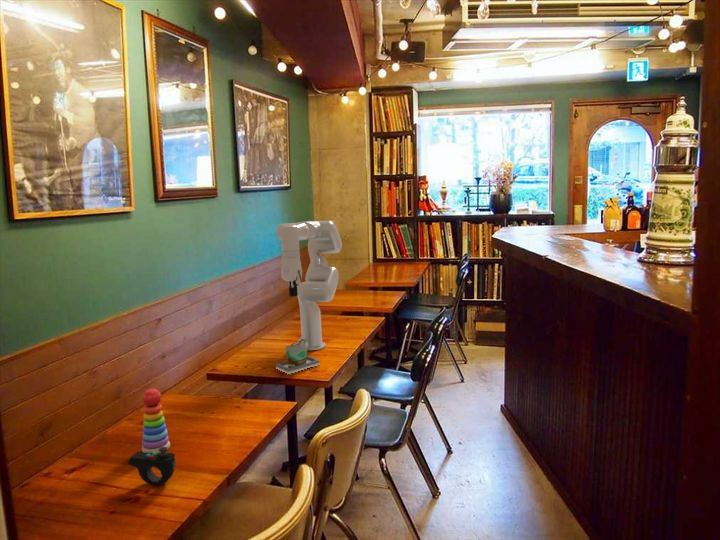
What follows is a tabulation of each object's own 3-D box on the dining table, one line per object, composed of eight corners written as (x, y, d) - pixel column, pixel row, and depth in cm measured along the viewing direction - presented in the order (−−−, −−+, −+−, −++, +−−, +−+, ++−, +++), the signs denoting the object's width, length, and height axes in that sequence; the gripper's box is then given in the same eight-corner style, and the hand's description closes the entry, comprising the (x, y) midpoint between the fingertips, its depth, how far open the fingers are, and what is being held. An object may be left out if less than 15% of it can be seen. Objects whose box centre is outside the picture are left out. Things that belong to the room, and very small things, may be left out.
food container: (298, 371, 224) (296, 347, 223) (286, 369, 227) (284, 345, 226) (315, 361, 235) (313, 339, 233) (303, 360, 238) (301, 337, 236)
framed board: (276, 369, 231) (275, 363, 231) (307, 360, 241) (306, 355, 241) (288, 374, 224) (288, 369, 224) (319, 365, 234) (319, 360, 233)
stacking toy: (166, 455, 160) (160, 394, 157) (138, 457, 160) (131, 396, 157) (173, 442, 168) (167, 384, 165) (146, 444, 167) (140, 386, 164)
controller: (172, 489, 142) (168, 453, 140) (128, 486, 144) (124, 450, 142) (180, 480, 146) (176, 445, 144) (138, 477, 148) (134, 443, 146)
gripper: (274, 253, 238) (277, 295, 241) (292, 256, 226) (295, 299, 229) (289, 251, 242) (291, 292, 245) (308, 254, 231) (310, 296, 234)
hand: (293, 295), depth 237 cm, fingers closed
